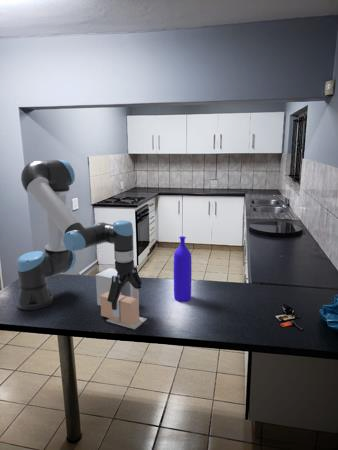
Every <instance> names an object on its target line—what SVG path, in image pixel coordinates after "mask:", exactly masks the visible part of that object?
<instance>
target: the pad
mask: <svg viewBox="0 0 338 450" xmlns="http://www.w3.org/2000/svg"><path fill="white" fill-rule="evenodd" d="M147 320H148V318H147V317H142V316H139V320H138V321H137V322H135V323H134V324H133V325H131V324H128V323H125V322H121V321H118V320H114V319H111V318H107V319H106V322H108V323H112V324H115V325H118V326H121V327H125V328H129V329H132V330H136V329H137V328H138V327H140V326H141V325H142V324H143V323H144V322H146V321H147Z"/></svg>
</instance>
